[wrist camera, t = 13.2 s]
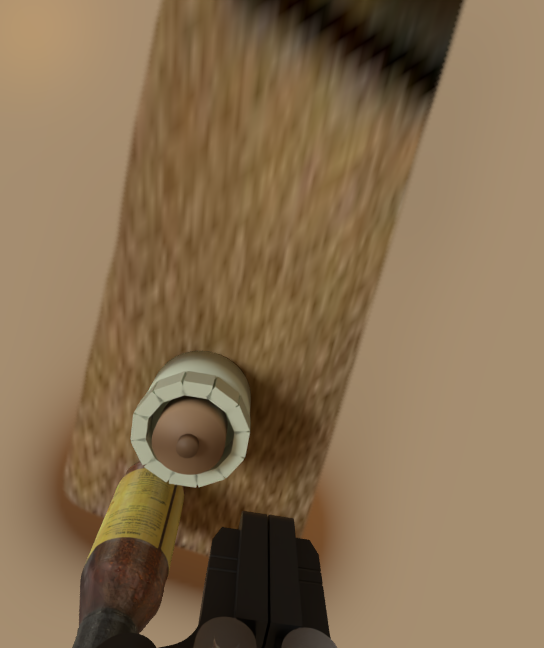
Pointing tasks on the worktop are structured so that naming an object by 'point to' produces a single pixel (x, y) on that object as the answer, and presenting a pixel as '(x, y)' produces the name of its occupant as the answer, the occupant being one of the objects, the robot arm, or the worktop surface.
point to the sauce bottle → (129, 558)
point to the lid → (190, 435)
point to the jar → (203, 382)
